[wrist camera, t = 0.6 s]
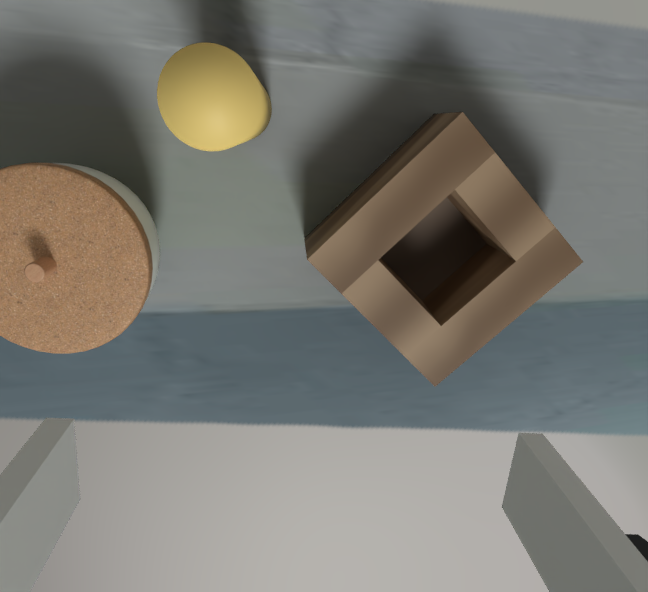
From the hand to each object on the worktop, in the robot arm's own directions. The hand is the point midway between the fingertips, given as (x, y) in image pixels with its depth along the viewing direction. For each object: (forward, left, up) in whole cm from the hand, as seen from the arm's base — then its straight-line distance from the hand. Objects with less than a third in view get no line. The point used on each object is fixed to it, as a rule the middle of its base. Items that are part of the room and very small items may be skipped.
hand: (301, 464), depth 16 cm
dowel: (-10, +5, -23) cm, 25 cm away
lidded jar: (-11, -8, -23) cm, 27 cm away
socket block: (+5, +8, -23) cm, 25 cm away
